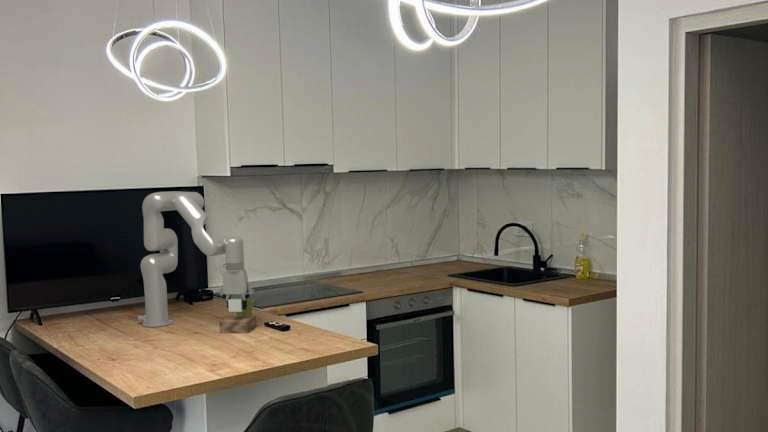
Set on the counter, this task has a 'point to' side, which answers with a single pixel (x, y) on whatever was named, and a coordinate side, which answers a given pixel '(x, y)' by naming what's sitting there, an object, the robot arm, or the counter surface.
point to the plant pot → (248, 310)
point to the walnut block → (238, 324)
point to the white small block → (235, 304)
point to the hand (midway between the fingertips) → (237, 309)
